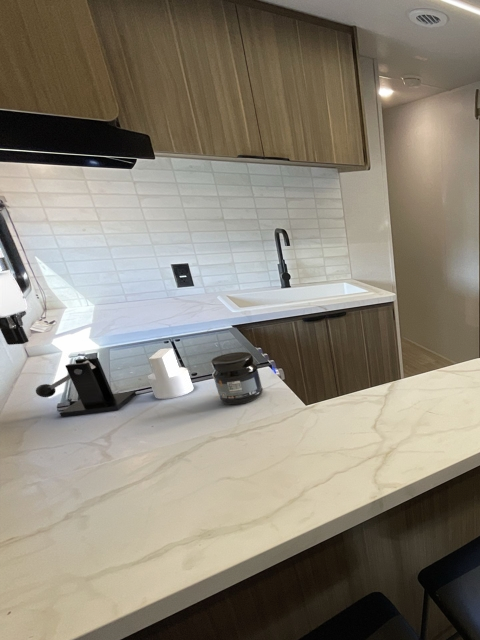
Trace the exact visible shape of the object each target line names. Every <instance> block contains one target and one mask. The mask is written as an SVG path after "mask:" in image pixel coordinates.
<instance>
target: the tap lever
mask: <svg viewBox="0 0 480 640" xmlns="http://www.w3.org/2000/svg"><path fill="white" fill-rule="evenodd" d="M88 362H89V361H88V360H87V361H85V362H83V363H88ZM89 364H90V366H91V369H94V368H95V366H94V365H93V364H92V363H91V362H89ZM70 380H71V377H70V375H69V374H67V375H65V376H64V377H62V378H60V379H59V380H57V381H56V382H54V383H52V384H49V383H43V384H40V385H38V386H37V387H36V388H35V393H36V395H37V396H39V397H41V398H50V397H52V396H54V395H55V394H56V388H57V387H59V386H61V385H62V384H64V383H66V382H68V381H70Z"/></svg>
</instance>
